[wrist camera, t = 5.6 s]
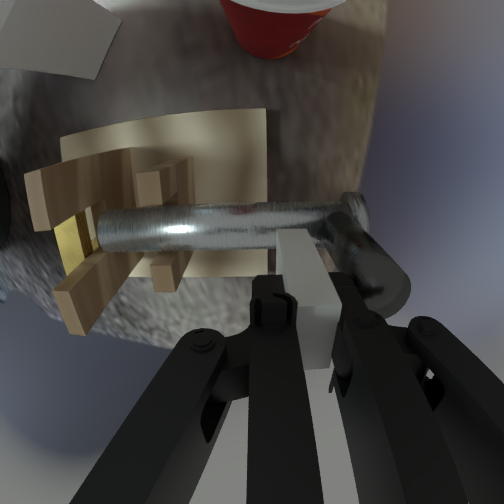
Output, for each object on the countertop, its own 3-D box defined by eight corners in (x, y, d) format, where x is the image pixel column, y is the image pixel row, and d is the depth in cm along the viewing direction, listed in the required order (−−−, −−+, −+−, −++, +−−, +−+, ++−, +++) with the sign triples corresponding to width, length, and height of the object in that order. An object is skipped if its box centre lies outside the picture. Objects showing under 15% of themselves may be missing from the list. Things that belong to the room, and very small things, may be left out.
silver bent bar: (125, 247, 21) (52, 330, 11) (116, 193, 19) (23, 252, 9) (344, 242, 21) (406, 333, 11) (349, 186, 19) (431, 243, 9)
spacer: (107, 243, 27) (68, 280, 20) (95, 168, 24) (45, 185, 16) (127, 242, 27) (90, 281, 20) (116, 164, 24) (68, 181, 16)
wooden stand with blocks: (89, 271, 30) (24, 345, 17) (66, 136, 23) (-33, 158, 10) (267, 270, 29) (275, 373, 17) (265, 109, 23) (278, 83, 10)
